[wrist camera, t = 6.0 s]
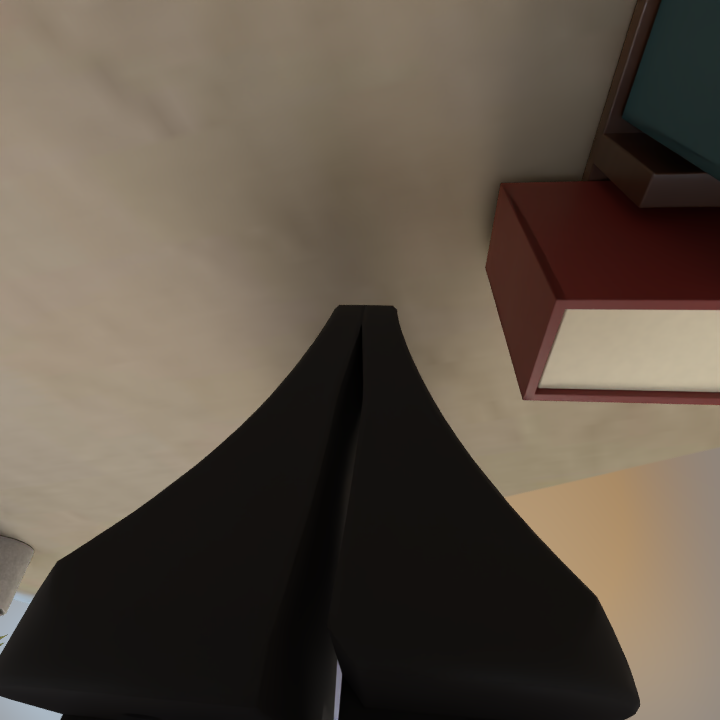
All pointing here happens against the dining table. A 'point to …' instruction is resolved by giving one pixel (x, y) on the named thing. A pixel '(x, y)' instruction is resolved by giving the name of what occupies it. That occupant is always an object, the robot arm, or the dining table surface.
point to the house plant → (12, 569)
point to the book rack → (643, 140)
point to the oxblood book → (606, 294)
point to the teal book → (681, 83)
